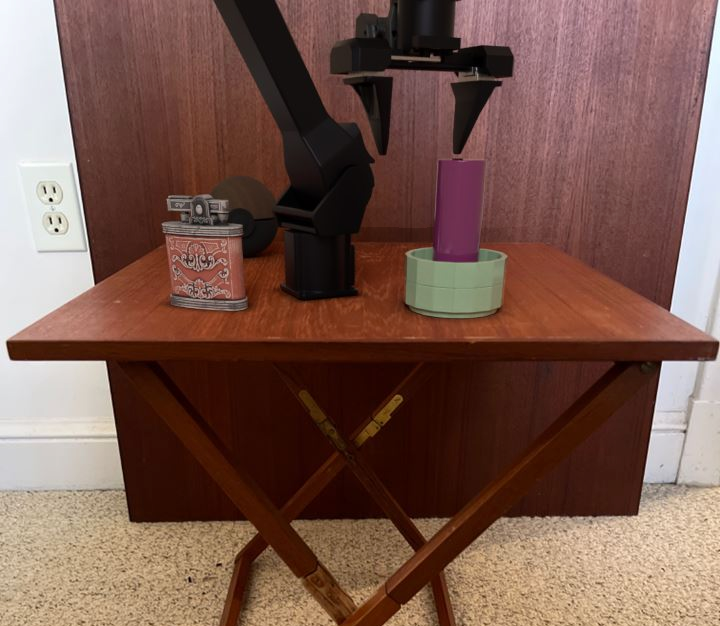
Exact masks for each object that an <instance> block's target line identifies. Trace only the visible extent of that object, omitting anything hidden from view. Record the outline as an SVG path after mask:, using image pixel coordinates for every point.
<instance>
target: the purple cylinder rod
mask: <svg viewBox="0 0 720 626" xmlns="http://www.w3.org/2000/svg"><path fill="white" fill-rule="evenodd" d="M487 166H488V160H487V159H485V158H464V157H463V158H461V157H459V158H458V157H457V158H454V157H453V158H452V157H451V158H450V157H449V158H437V159H436V169H435V170H436V171H435V172H436V173H435V190H434V212H433V231H432V232H433V234H432V247H433V250H432V260H433V261H444V262H479V255H480V248H481V244H482V243H481V241H482V228H483V216H484V204H485V193H486V192H485V191H486V178H487Z"/></svg>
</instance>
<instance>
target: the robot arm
mask: <svg viewBox="0 0 720 626" xmlns="http://www.w3.org/2000/svg"><path fill="white" fill-rule="evenodd" d="M212 1H213V3H214V5H215V7H216V8H217V10H218V12H219V14H220V17H221V19H222V20H223V22H224V24H225V26H226V29H227V30H228V32H229V34H230V36H231V38H232V40H233V43H234V44H235V46H236V48H237V49H238V52H239V54H240V55H241V58H242V59H243V62H244V64H245V66H246V67H247V70H248V72H249V73H250V76H251V78H252V79H253V81H254V83H255V85H256V87H257V89H258V91H259V93H260V95H261V96H262V99H263V101H264V102H265V104H266V107H267V108H268V110H269V113H270V114H271V116H272V119H273V120H274V122H275V125H277V128H278V131H279V132H280V134H281V138H282V148H283V149H282V151H283V163H284V168H285V171H286V174H287V176H288V179H289V184H288V185H287V186H286V187H285V189H283V192H282V193H281V194H280V196H278V198H277V199H276V200H275V201H276V202H275V203H274V205H273V206H272V213H273V215H274V218H275V221H276V224H277V226H278V228H281V229H283V230H282V231H283V256H284V257H283V258H284V277H285V278H284V279H285V280H284V281H285V282H281V283H279V289H281V290H283V291H285V292H286V293H288V294H290V295H292V296H293V297H296V298H298V299H299V300H300V299H301V300H309V299H319V298H320V299H321V298H331V297H338V296H339V297H340V296H349V295H357V294H359V288H357V287H354V286H355V285H356V246H355V245H354V243H352V235H354V234H359V233H360V231H361V227H362V224H363V219H364V216H365V213H366V209H367V206H368V205H369V202H370V200H371V198H372V195H373V189H374V188H375V186H376V178H375V177H376V176H375V174H374V170H373V168H372V164H375V163H376V159H375V158H374V157H373V156H372V155H371V154H370V153H369V151H368V149H367V147H366V144H365V142H364V137H363V134H362V131H361V129H360V127H359V125H358V123H356V122H337V121H335V119H334V118H333V117H332V116H331V115H330V114H329V112H328V110H327V109H326V107H325V105H324V102H323V101H322V99H321V98H322V97H321V96H320V94H319V92H318V90H317V87H316V85H315V82H314V80H313V78H312V77H311V74H310V72H309V70H308V68H307V66H306V63H305V62H304V59H303V56H302V54H301V52H300V50H299V48H298V46H297V44H296V41H295V39H294V37H293V35H292V33H291V31H290V28H289V26H288V24H287V22H286V19H285V17H284V15H283V12H282V11H281V9H280V7H279V4H278V2H277V0H212ZM460 1H462V0H389V10H388V14H387V16H386V17H384V16H378V14H376V13H368V12H360V13H359V15H357V17H356V19H355V29H354V31H355V32H354V37H351V38H347V39H342V40H338V41H336V42H335V43H334V45H333V46H332V47H331V50H330V54H329V74H330V75H340V76H347V77H346V78H342V79H341V80H342V84H343V85H345V86H350V87H351V88H352V89H353V91H354V92H355V93H356V95H357V96H358V98H359V99H360V101H361V104H362V106H363V109H364V111H365V115H366V117H367V120H368V123H369V127H370V130H371V134H372V137H373V141H374V144H375V147H376V151H377V153H378V155H379V156H387V153H388V147H389V143H390V142H389V141H390V130H391V116H392V115H391V114H392V104H393V103H392V100H393V86H394V76H386V70H396V71H417V72H420V71H421V72H440V73H441V72H443V73H454V75H455V76H456V78H457V80H458V81H457V82H456V81H455V82H450V83H449V85H450V88H451V91H452V94H453V97H454V109H453V110H454V112H453V127H452V154H453V155H461V154H462V153H463V151H464V149H465V146H466V144H467V142H468V140H469V138H470V136H471V133H472V131H473V129H474V128H475V125H476V123H477V121H478V119H479V117H480V115H481V113H482V111H483V110H484V109H485V106H486V104H487V103H488V101H489V99H490V98H491V96H492V94H493V93H494V91H495V89H496V88H502V87H503V82H504V81H503V80H497V79H506V78H507V79H508V78H509V79H510V78H514V73H515V72H514V69H515V59H516V58H515V56H514V53H513V51H512V50H511V47H510V46H507V45H506V46H504V45H492V44H491V45H490V44H489V45H488V44H480V45H474V46H466V47H462V37H455V25H456V7H457V6H456V5H457V2H460ZM431 56H432V57H431Z"/></svg>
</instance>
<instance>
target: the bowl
mask: <svg viewBox="0 0 720 626" xmlns="http://www.w3.org/2000/svg"><path fill="white" fill-rule="evenodd" d="M432 250H433V246H431V247H429V246H428V247H420V248H415V249H410V250H408V251H406V252H405V253H404V275H403V277H404V279H403V282H404V283H403V302H404V303H405V304H406V305H408V309H409V310H410V311H412V312H413V313H416V314H419V315H423V316H427V317H434V318H441V319H474V318H475V319H477V318H482V317H488V316H490V315H494V314H496V313H497V311H498V309H499V308H501V307H502V305H504V302H505V301H504V299H505V289H506V280H507V269H508V259H509V256H508V254H506V253H504V252H502V251H498V250H493V249H488V248H481V247H480V255H479V262H444V261H433V260H432Z"/></svg>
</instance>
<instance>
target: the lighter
mask: <svg viewBox="0 0 720 626" xmlns="http://www.w3.org/2000/svg"><path fill="white" fill-rule="evenodd" d="M166 206H167V211H175V212H178V211H179V212H181V213H180V220H178V221H177V220H175V221H174V220H173V221H165V222H161V228H162V233H164V237H165V244H166V245H165V246H166V253H167V260H168V261H167V262H168V269H169V270H168V271H169V280H170V281H169V282H170V288H171V293H170V294H169V296H170V304H171V305H172V306H176V307H183V308H190V309H198V310H212V311H230V312H231V311H232V312H233V311H242V310H246V309H248V308H249V300H248V296H246V282H245V268H244V257H243V252H242V237H241V235H242V234H243V225H240V224H230V223H228V221H227V220H228V216H229V215H228V212H229V201H228V200H214V199H213V197H212V196H211V195H210V194H209V193H208V194H207V193H205V194H198V195H197V194H196V195H194V197H193V195H168V197H167V198H166Z"/></svg>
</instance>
